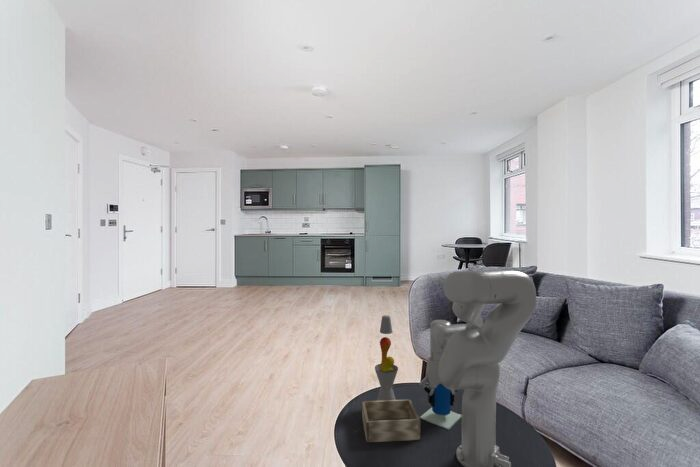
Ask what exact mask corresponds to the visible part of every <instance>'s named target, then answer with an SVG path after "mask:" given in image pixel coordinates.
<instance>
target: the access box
mask: <svg viewBox="0 0 700 467" xmlns="http://www.w3.org/2000/svg"><path fill="white" fill-rule="evenodd" d="M361 417H362V418H361V420H362V425H363V430H364V435H365V436H364V437H365V440H366V443H382V442H399V441H401V442H402V441H420V440H421V419H420V416H419V414H418V412H417V409H416V408H415V406H414V404H413V402H412V400H411V399H406V398H405V399H396V400H381V401H377V400H362V401H361Z"/></svg>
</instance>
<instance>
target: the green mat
mask: <svg viewBox="0 0 700 467" xmlns="http://www.w3.org/2000/svg"><path fill="white" fill-rule="evenodd" d="M419 418H420V420H423V421H426V422H428V423H431V424H433V425H436V426H438V427H441V428H443V429H446V430H447V431H449V430H450V429H451V428H452V427H453V426H454V425H455V424H456V423H457V422H458V421H459V420H460V419H462V414H461V413H457V412H454V411H452V410H450V414H448V415H447V416H438V415H436V414H435V413H434V412H433V411H432V407H430V408H429V409H428V410H427V411H425V412H424V413H423V414H421V416H419Z"/></svg>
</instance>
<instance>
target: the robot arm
mask: <svg viewBox="0 0 700 467" xmlns="http://www.w3.org/2000/svg"><path fill="white" fill-rule="evenodd" d="M443 292H444V295H445V297H446V298H447V299H448V300H449V301H451V302H452V306H451V307H452V312H453V314H454V315H455V316H456V318H458V319H459V320H461V321H462V322H464V323H466V324H457V325H456V324H455V325H452V323H451V322H450V321H449V320H446V319H434V320H432V321H431V322H430V326H429V327H430V328H429V329H430V330H429V334H430V335H429V337H430V339H429V340H430V341H429V344H430V345H429V346H430V347H429V349H430V350H429V351H430V352H429V353H430V354H429V355H430V356H428V358H427V361H426V369H425V377H424V378H423V379H422V380H421V381H420V382H419V386H420V387H421V388H422V389H423V390H424V392H426V393H427V397H428V398H427V401H428V404H429V405H430V407H431V408H432V407H433V406H434V395H433V392H434V390H435V388H436V387H437V385H439V383H442V385H443V386H444V387H445V388H447V389H449V390H450V407H453V406H454V403H455V395H456V393H457V391H461V390H462V391H463V392H462V396H461V415H462V417H461V445H459V446H458V447H457V448H456V451H455V453H456V459H457V461H458V462H459V463H460V464H461V466H463V467H512V462H511V461H510V457H509V456H507V455H504V454H501V452H500V447H499V446H498V445H497V443H496V442H497V441H496V440H497V438H496V437H497V428H496V426H497V421H496V420H497V417H496V416H497V392H498V386H499V382H500V375H501V374H500V373H501V371H500V365H499V364H500V363H501V362H503V361H504V359H505V358H506V356H507V355H508V353H509V351H510V350H511V347H513V345H514V343H515V341H516V339H517V338H518V335H519V333H521V331H522V329H523V328H524V327H525V326H526V324H527V323H528V322H529V320H530V319H531V317H532V315H533V314H534V311H535V310H536V309H535V308H536V305H537V304H536V303H537V289H536V286H535V282H534V281H533V279H532V278H531V277H530V276H529V275H528V274H526V273H524V272H523V271H519V270H512V269H511V270H510V269H506V270H505V269H502V270H500V269H499V270H481V271H480V270H472V271H470V270H469V271H453V272H451V273H450V274H448V275H447V276H446V278H445V280H444V282H443ZM496 304H499V305H498V306H497V307H495V308H493V309H492V310H491V311H490V312H489V313H488V315H487V316H486V318H485V320H483V317H482V316H481V314H482V312H483V310H484V309H485V307H486V306H487V305H496ZM426 384H428V386H427V385H426Z"/></svg>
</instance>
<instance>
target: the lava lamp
mask: <svg viewBox="0 0 700 467" xmlns="http://www.w3.org/2000/svg"><path fill="white" fill-rule="evenodd" d="M391 320H392V319H391V316H390V315H389V314H388V315H386V314H385V315H382V316H381V321H380V328H379V333H380V334H382V335H389V334H393V328H392V327H393V326H392V321H391ZM379 346H380V350H381V362H380V363H379V364H376V365H375V366H374V371H375V374H376V377H377V379H378V383H379V385H380V387H379V388H380V389H379V391H378V392H379V393H378V395H377V398H376V401H381V400H397V399H396V396H395V394H394V393H395V392H394V389H393V386H394V382H395V379H396V377H397V373H398V371H399V367H398V366H397V365H396V364H395V359H394V358H393V357H391V356H388V352H389V349H390V348H391V346H392V341H391V339H390V338H389V337H387V336H385V337H381V339H380V340H379Z"/></svg>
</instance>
